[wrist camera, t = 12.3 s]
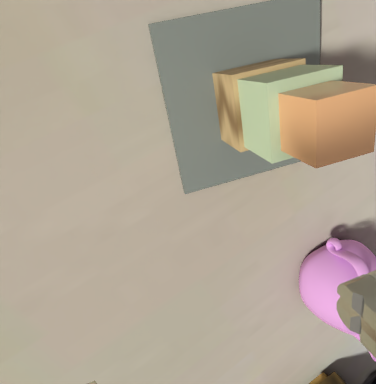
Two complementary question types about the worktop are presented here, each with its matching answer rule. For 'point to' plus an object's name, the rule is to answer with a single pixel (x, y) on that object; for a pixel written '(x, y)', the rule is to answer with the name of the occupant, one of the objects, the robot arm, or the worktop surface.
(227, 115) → the oak base block
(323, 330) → the worktop surface
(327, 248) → the teapot
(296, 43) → the slate mat
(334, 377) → the wooden nightstand
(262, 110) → the sage top block
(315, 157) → the light orange cube
